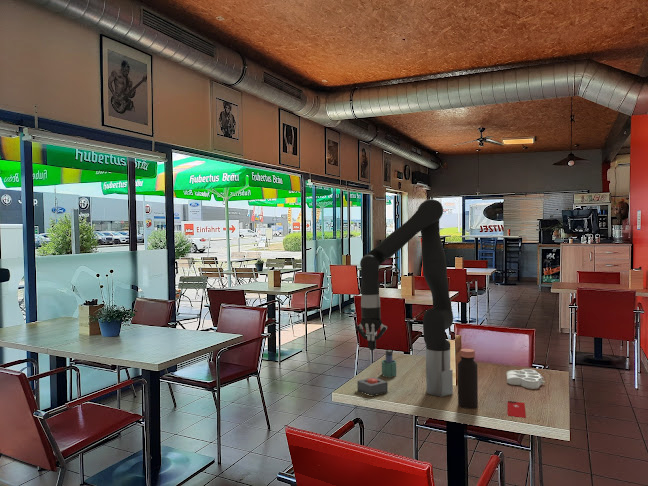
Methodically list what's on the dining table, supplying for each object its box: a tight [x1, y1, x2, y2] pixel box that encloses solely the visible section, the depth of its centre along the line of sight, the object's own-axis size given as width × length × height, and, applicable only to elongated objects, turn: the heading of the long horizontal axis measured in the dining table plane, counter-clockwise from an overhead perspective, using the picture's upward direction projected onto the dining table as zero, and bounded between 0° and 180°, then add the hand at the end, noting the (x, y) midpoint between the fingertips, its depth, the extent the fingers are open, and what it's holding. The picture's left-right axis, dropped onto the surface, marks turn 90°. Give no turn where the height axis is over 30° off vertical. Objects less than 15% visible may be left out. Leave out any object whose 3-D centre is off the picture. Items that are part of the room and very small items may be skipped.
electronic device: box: [506, 400, 527, 419], centre depth 167 cm, size 6×1×15 cm
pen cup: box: [381, 359, 397, 378], centre depth 210 cm, size 6×6×6 cm
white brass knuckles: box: [506, 368, 546, 390], centre depth 198 cm, size 3×18×15 cm
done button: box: [366, 377, 377, 384], centre depth 188 cm, size 4×4×3 cm
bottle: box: [457, 348, 479, 410], centre depth 171 cm, size 7×7×20 cm
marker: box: [385, 349, 393, 363], centre depth 210 cm, size 3×3×10 cm
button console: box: [356, 376, 389, 396], centre depth 188 cm, size 8×8×4 cm
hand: (372, 349), depth 187 cm, fingers closed
